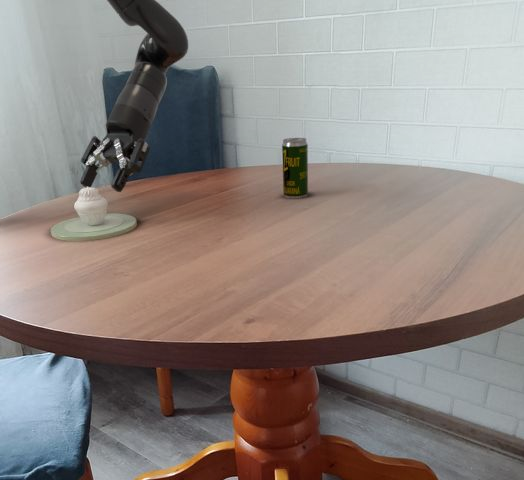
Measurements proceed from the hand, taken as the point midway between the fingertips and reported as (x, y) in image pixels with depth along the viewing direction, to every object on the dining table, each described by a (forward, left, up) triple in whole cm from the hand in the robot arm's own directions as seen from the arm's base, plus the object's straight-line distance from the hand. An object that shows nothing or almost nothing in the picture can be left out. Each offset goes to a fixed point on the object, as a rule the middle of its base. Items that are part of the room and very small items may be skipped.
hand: (99, 187), depth 103 cm
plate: (-1, -3, -7) cm, 8 cm away
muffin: (-1, -2, -6) cm, 7 cm away
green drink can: (+35, +22, -7) cm, 42 cm away
